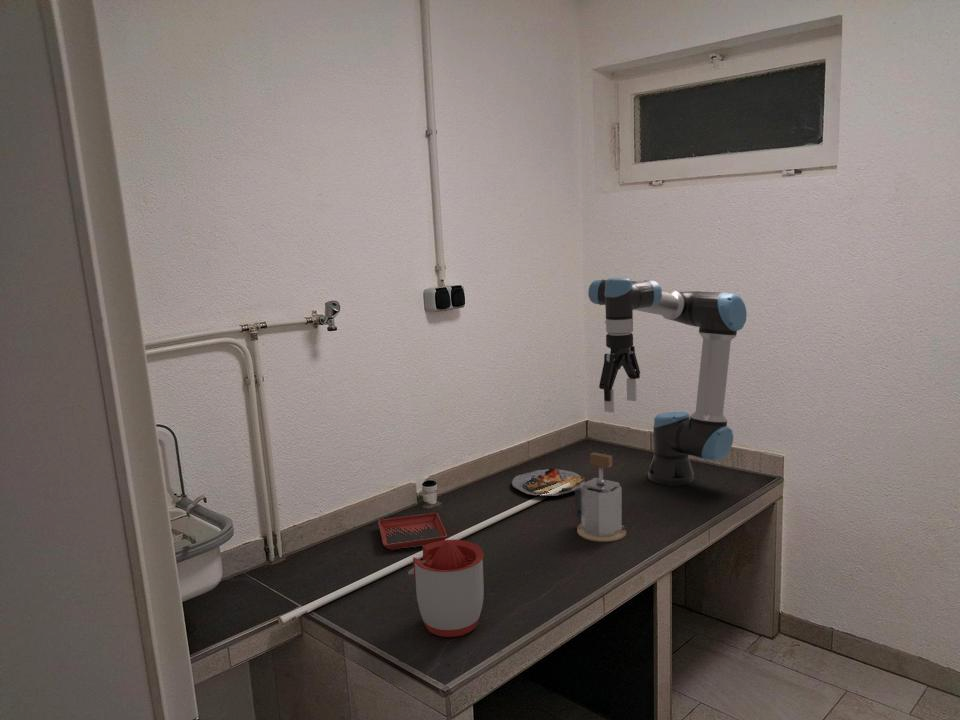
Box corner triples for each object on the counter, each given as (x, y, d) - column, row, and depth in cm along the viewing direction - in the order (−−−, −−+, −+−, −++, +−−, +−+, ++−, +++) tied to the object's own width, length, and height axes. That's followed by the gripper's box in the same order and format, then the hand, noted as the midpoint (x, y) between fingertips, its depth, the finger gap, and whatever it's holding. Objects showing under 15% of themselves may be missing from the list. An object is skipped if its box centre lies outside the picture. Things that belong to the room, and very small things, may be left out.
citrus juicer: (424, 602, 175) (420, 523, 171) (494, 611, 170) (491, 530, 166) (398, 637, 160) (393, 552, 157) (474, 648, 155) (470, 560, 152)
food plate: (557, 469, 265) (557, 460, 264) (600, 488, 245) (599, 478, 245) (499, 486, 252) (499, 476, 252) (539, 507, 233) (539, 497, 232)
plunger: (596, 511, 215) (596, 449, 211) (618, 516, 211) (617, 453, 207) (584, 519, 209) (583, 456, 206) (606, 524, 205) (605, 460, 202)
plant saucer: (383, 555, 202) (383, 544, 201) (378, 529, 219) (377, 519, 218) (448, 546, 206) (447, 535, 205) (437, 522, 223) (437, 512, 222)
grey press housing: (589, 517, 221) (588, 471, 218) (634, 529, 212) (634, 481, 209) (564, 533, 210) (563, 485, 208) (611, 546, 201) (611, 496, 198)
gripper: (627, 325, 217) (629, 394, 222) (585, 339, 198) (587, 415, 203) (651, 326, 213) (652, 397, 217) (609, 341, 194) (611, 418, 198)
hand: (620, 406), depth 210 cm, fingers open, 13 cm apart
